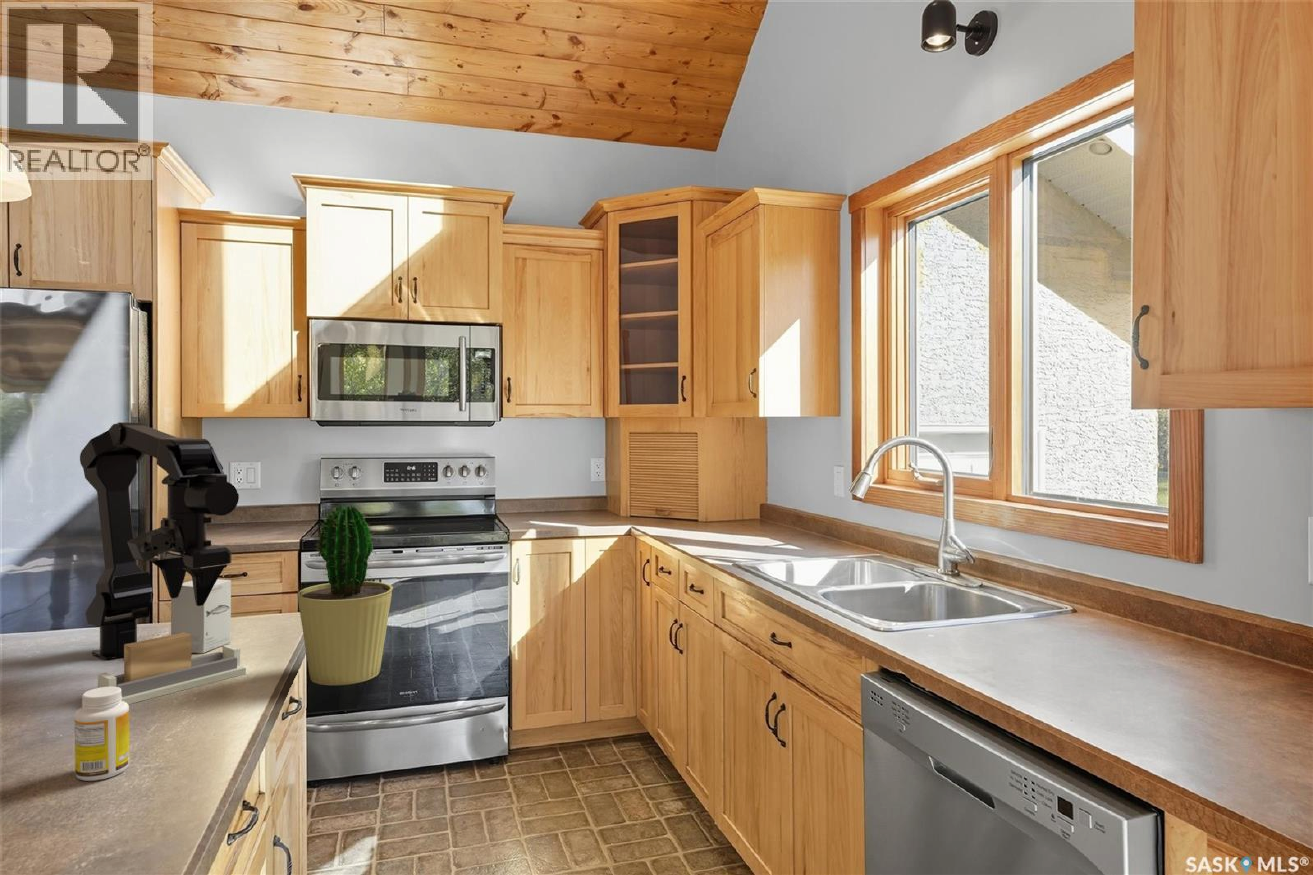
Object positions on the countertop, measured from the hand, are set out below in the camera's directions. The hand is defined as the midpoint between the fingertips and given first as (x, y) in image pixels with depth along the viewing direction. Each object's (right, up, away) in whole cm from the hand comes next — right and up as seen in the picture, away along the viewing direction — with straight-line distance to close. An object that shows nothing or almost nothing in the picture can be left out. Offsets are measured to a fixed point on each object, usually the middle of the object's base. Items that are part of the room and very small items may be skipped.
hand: (187, 601), depth 134 cm
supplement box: (-7, -12, +16) cm, 21 cm away
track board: (+1, -13, -5) cm, 14 cm away
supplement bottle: (+12, -14, -37) cm, 41 cm away
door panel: (0, -12, -7) cm, 14 cm away
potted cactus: (+27, -13, +1) cm, 30 cm away
